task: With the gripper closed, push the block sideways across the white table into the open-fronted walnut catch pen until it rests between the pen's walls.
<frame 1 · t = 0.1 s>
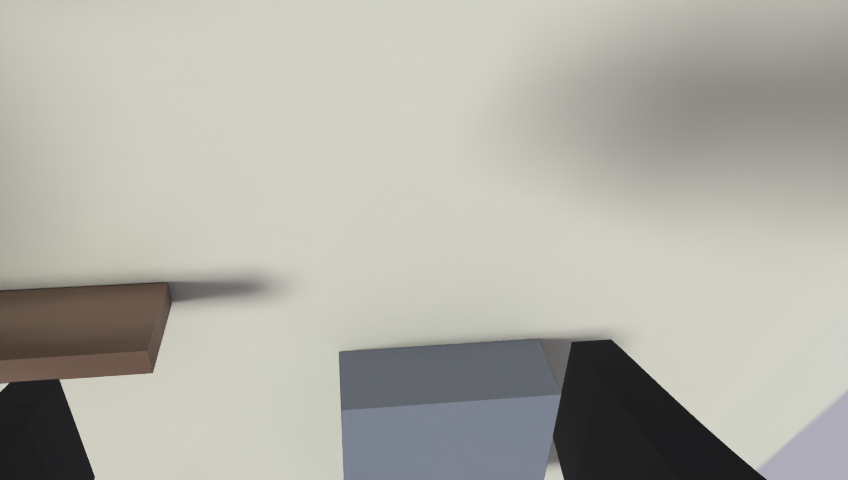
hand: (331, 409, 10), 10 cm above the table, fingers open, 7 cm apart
block: (434, 408, 25), on the table
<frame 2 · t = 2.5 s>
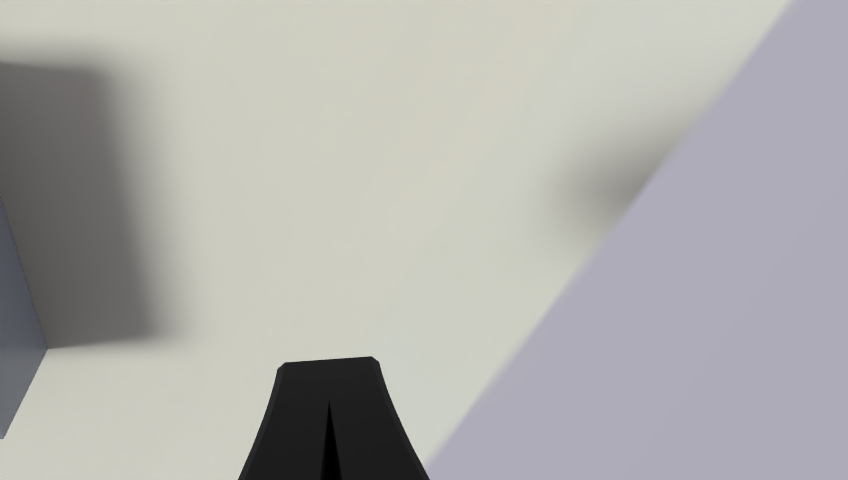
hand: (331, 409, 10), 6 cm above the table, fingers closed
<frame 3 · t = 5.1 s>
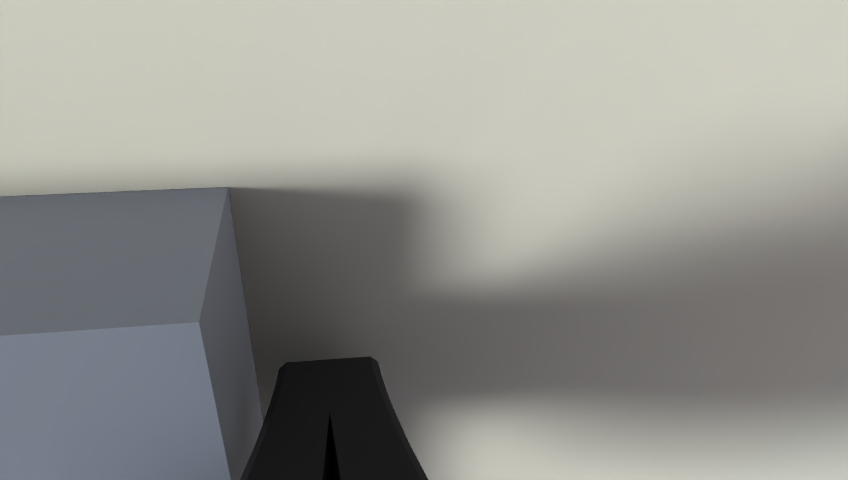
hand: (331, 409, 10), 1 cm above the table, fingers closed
block: (28, 386, 10), on the table, touching gripper
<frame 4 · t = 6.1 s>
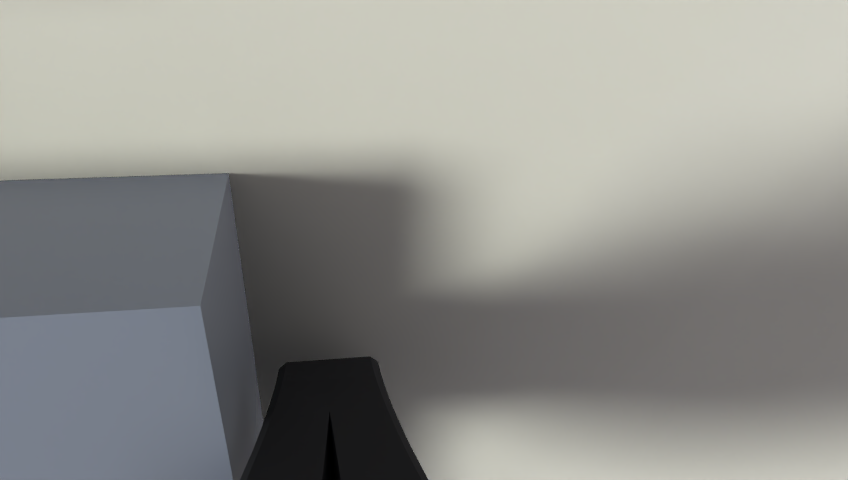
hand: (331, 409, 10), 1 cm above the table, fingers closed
block: (24, 375, 10), on the table
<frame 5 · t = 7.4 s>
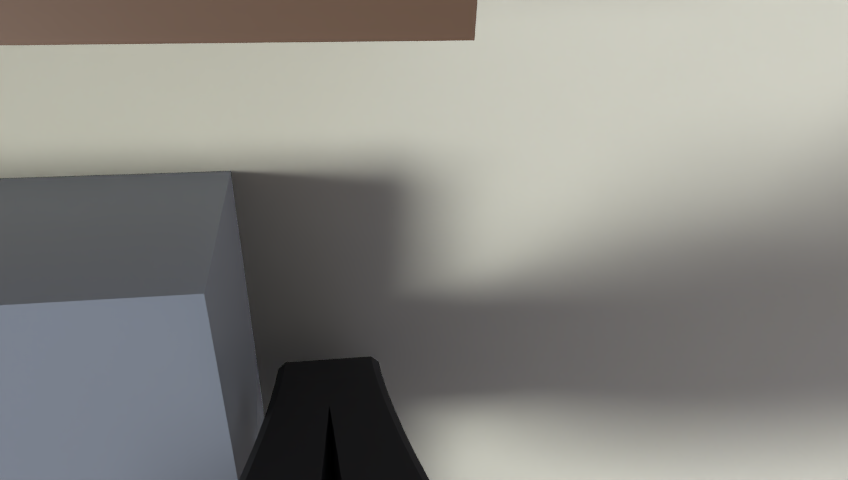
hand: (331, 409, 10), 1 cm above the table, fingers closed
block: (29, 368, 10), on the table, touching gripper
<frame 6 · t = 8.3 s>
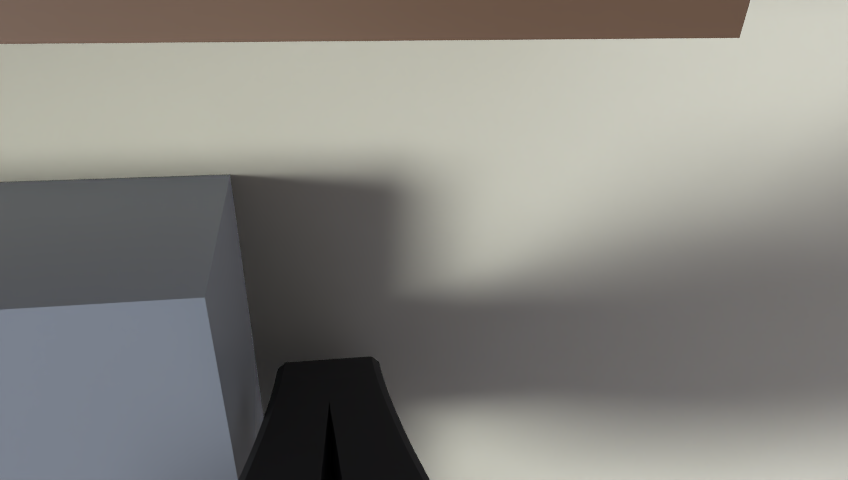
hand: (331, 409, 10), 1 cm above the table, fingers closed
block: (29, 369, 10), on the table, touching gripper
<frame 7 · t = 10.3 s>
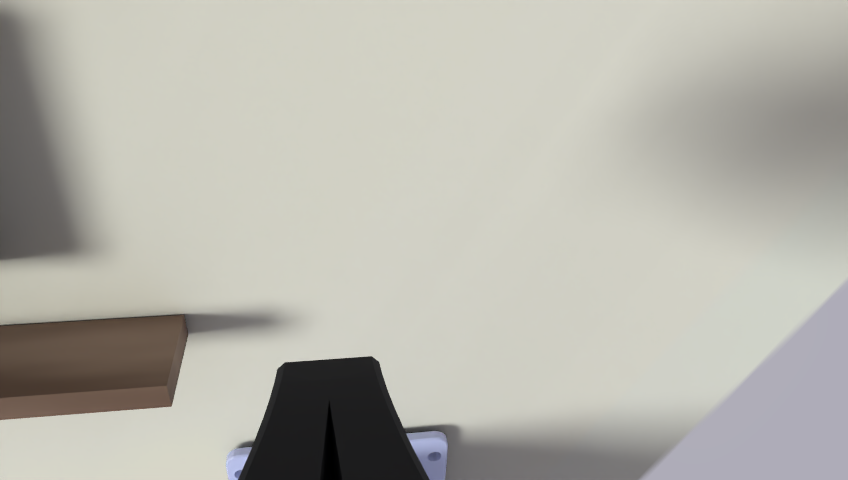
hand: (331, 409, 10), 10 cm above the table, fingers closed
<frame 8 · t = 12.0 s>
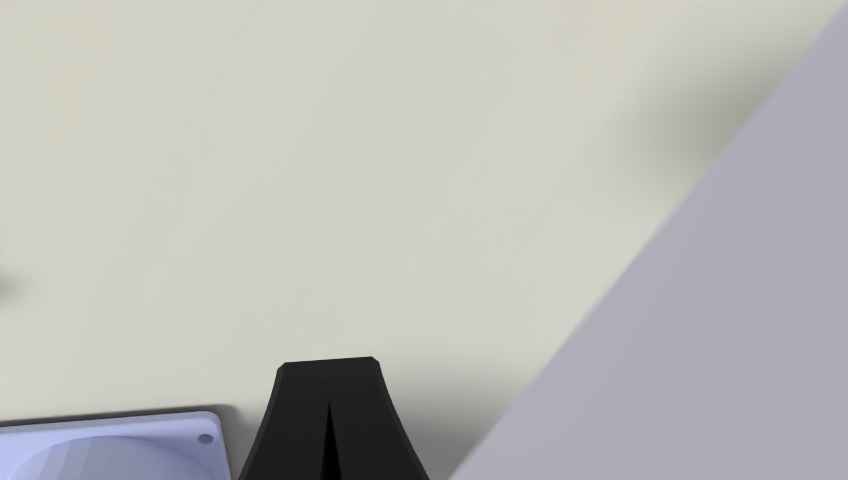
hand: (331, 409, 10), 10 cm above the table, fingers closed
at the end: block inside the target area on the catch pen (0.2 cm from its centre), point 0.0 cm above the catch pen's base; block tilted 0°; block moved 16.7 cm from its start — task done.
